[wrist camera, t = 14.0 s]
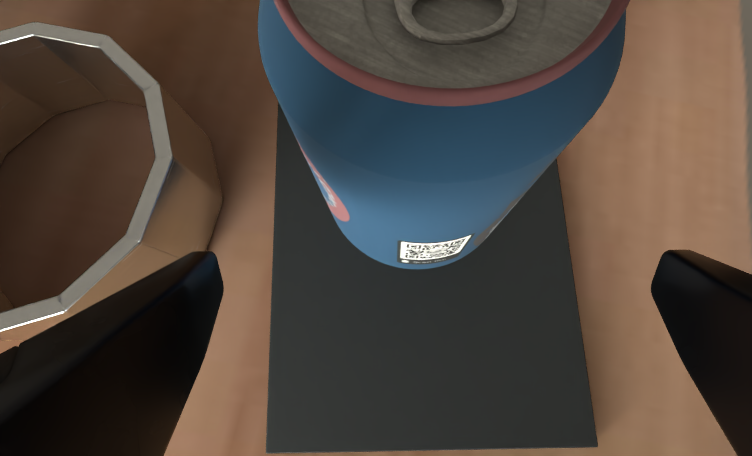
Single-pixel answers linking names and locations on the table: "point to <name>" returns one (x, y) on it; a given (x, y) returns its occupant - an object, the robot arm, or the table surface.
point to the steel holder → (163, 186)
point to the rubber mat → (422, 333)
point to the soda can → (435, 108)
